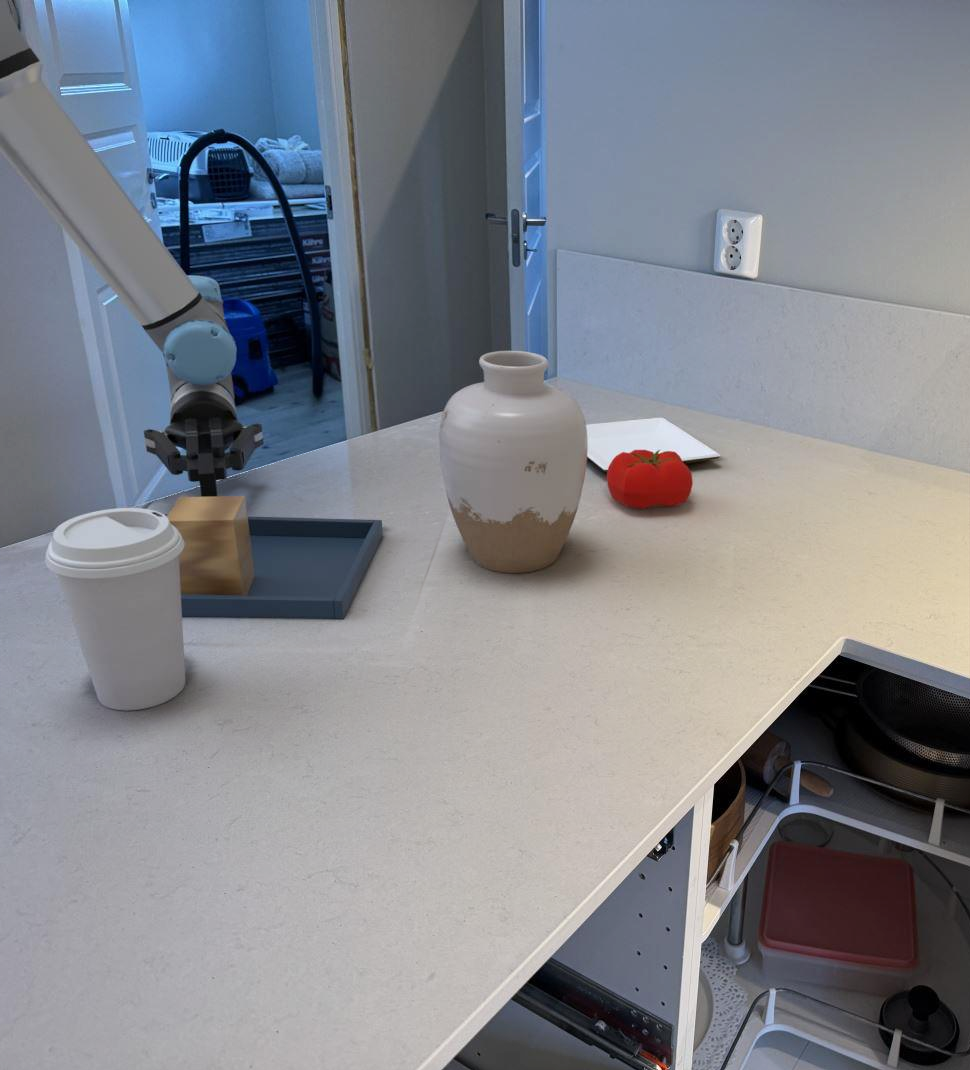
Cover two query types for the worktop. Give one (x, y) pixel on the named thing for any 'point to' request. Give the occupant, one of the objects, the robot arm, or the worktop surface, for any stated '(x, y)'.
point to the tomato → (649, 479)
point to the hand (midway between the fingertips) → (207, 485)
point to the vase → (513, 463)
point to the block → (214, 545)
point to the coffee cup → (124, 602)
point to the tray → (298, 570)
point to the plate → (643, 441)
